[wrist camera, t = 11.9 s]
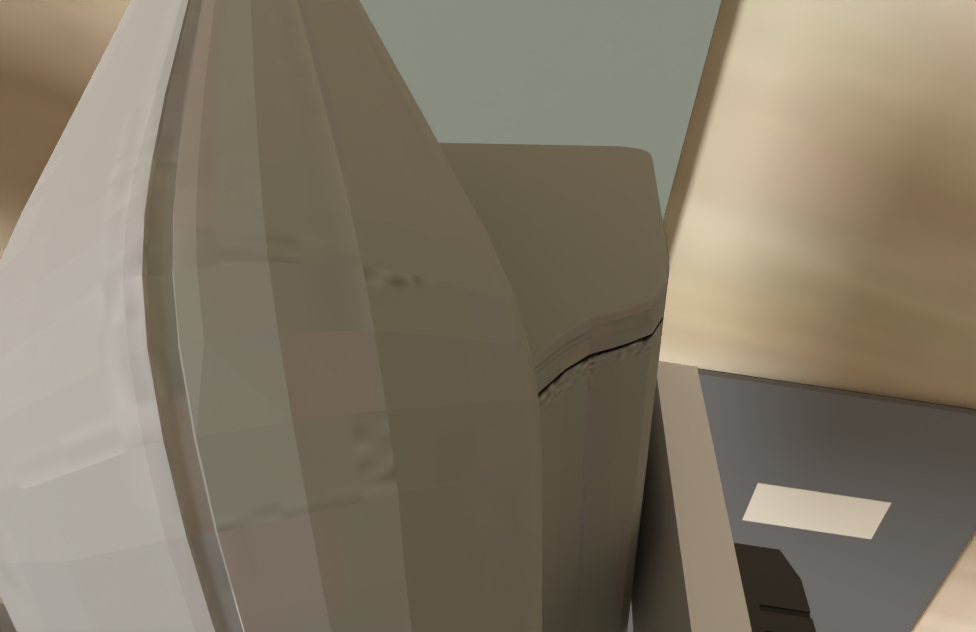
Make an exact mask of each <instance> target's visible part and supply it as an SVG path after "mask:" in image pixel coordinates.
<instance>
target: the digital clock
mask: <svg viewBox="0 0 976 632" xmlns="http://www.w3.org/2000/svg"><path fill="white" fill-rule="evenodd" d="M668 277H669V256H668V250H667V244H666V238H665V232H664V226H663V220H662V213H661V207H660V201H659V195H658V189H657V183H656V177H655V171H654V165H653V159H652V157H651V155H650V153H649V152H647V151H645V150H643V149H638V148H630V147H623V146H583V145H532V144H480V143H438V141H437V139H436V137H435V136H434V134H433V132H432V130H431V128H430V126H429V125H428V123H427V121H426V119H425V117H424V115H423V114H422V112H421V110H420V108H419V106H418V105H417V103H416V101H415V99H414V97H413V96H412V94H411V92H410V90H409V88H408V87H407V85H406V83H405V81H404V80H403V78H402V76H401V74H400V72H399V71H398V69H397V67H396V65H395V63H394V62H393V60H392V58H391V56H390V54H389V53H388V51H387V49H386V47H385V46H384V44H383V42H382V40H381V38H380V37H379V35H378V33H377V31H376V29H375V28H374V26H373V24H372V22H371V20H370V19H369V17H368V15H367V13H366V11H365V10H364V8H363V6H362V4H361V3H360V1H359V0H131V1H130V3H129V5H128V7H127V9H126V11H125V13H124V15H123V17H122V19H121V21H120V23H119V25H118V27H117V29H116V31H115V33H114V34H113V36H112V38H111V40H110V42H109V44H108V46H107V48H106V50H105V52H104V54H103V56H102V58H101V60H100V62H99V64H98V66H97V67H96V69H95V71H94V73H93V75H92V77H91V79H90V81H89V83H88V85H87V87H86V89H85V91H84V93H83V95H82V97H81V99H80V100H79V102H78V104H77V106H76V108H75V110H74V112H73V114H72V116H71V118H70V120H69V122H68V124H67V126H66V128H65V130H64V132H63V133H62V135H61V137H60V139H59V141H58V143H57V145H56V147H55V149H54V151H53V153H52V155H51V157H50V159H49V161H48V163H47V165H46V166H45V168H44V170H43V172H42V174H41V176H40V178H39V180H38V182H37V184H36V186H35V188H34V190H33V192H32V194H31V196H30V198H29V199H28V201H27V203H26V205H25V207H24V209H23V211H22V213H21V215H20V218H19V220H18V222H17V224H16V226H15V229H14V231H13V233H12V235H11V237H10V240H9V242H8V244H7V246H6V249H5V251H4V253H3V255H2V257H1V260H0V596H1V598H2V600H3V603H4V605H5V607H6V609H7V611H8V614H9V616H10V618H11V620H12V622H13V625H14V627H15V629H16V631H17V632H627V630H628V621H629V612H630V604H631V595H632V586H633V578H634V569H635V560H636V552H637V543H638V534H639V526H640V517H641V508H642V500H643V491H644V482H645V474H646V465H647V456H648V448H649V439H650V430H651V422H652V413H653V404H654V396H655V387H656V378H657V370H658V361H659V352H660V344H661V335H662V326H663V317H664V309H665V301H666V293H667V285H668Z"/></svg>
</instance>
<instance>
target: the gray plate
mask: <svg viewBox="0 0 976 632" xmlns="http://www.w3.org/2000/svg"><path fill="white" fill-rule="evenodd" d="M698 374H699V379H700V384H701V388H702V393H703V398H704V403H705V408H706V413H707V417H708V422H709V427H710V432H711V437H712V441H713V446H714V451H715V456H716V461H717V466H718V470H719V475H720V480H721V485H722V490H723V495H724V499H725V504H726V509H727V514H728V519H729V523H730V528H731V533H732V538H733V543H739V544H746V545H752V546H759V547H766V548H772V549H779V550H780V551H781V552H782V553H783V555H784V556H785V558H786V559H787V560H788V562H789V563H790V565H791V566H792V567H793V569H794V570H795V572H796V573H797V574H798V576H799V577H800V579H801V580H802V584H803V587H804V591H805V594H806V598H807V601H808V605H809V608H810V618H812V619H813V623H814V626H815V630H816V632H909V631H910V629H911V628H912V626H913V625H914V623H915V622H916V620H917V619H918V617H919V616H920V614H921V613H922V611H923V610H924V608H925V607H926V605H927V604H928V602H929V601H930V599H931V598H932V596H933V594H934V593H935V591H936V590H937V588H938V587H939V585H940V584H941V582H942V581H943V579H944V578H945V576H946V575H947V573H948V572H949V570H950V569H951V567H952V566H953V564H954V563H955V561H956V560H957V558H958V557H959V555H960V553H961V552H962V550H963V549H964V547H965V546H966V544H967V543H968V541H969V540H970V538H971V537H972V535H973V534H974V532H975V531H976V410H972V409H965V408H959V407H952V406H945V405H938V404H932V403H925V402H918V401H912V400H905V399H898V398H891V397H885V396H878V395H871V394H864V393H858V392H851V391H844V390H837V389H831V388H824V387H817V386H810V385H804V384H797V383H790V382H783V381H777V380H770V379H763V378H756V377H750V376H743V375H736V374H729V373H723V372H716V371H709V370H702V369H698ZM627 632H633V620H632V606H631V604H630V612H629V621H628V630H627Z"/></svg>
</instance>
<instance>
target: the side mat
mask: <svg viewBox="0 0 976 632" xmlns="http://www.w3.org/2000/svg"><path fill="white" fill-rule="evenodd" d="M359 1H360V3H361V4H362V6H363V8H364V10H365V11H366V13H367V15H368V17H369V19H370V20H371V22H372V24H373V26H374V28H375V29H376V31H377V33H378V35H379V37H380V38H381V40H382V42H383V44H384V46H385V47H386V49H387V51H388V53H389V54H390V56H391V58H392V60H393V62H394V63H395V65H396V67H397V69H398V71H399V72H400V74H401V76H402V78H403V80H404V81H405V83H406V85H407V87H408V88H409V90H410V92H411V94H412V96H413V97H414V99H415V101H416V103H417V105H418V106H419V108H420V110H421V112H422V114H423V115H424V117H425V119H426V121H427V123H428V125H429V126H430V128H431V130H432V132H433V134H434V136H435V137H436V139H437V141H438V143H480V144H532V145H583V146H623V147H630V148H638V149H643V150H645V151H647V152H649V153H650V155H651V157H652V159H653V165H654V171H655V177H656V183H657V189H658V195H659V201H660V207H661V213H662V220H663V218H664V215H665V211H666V207H667V203H668V200H669V196H670V192H671V188H672V185H673V181H674V177H675V173H676V170H677V166H678V162H679V158H680V155H681V151H682V147H683V143H684V139H685V136H686V132H687V128H688V124H689V121H690V117H691V113H692V109H693V106H694V102H695V98H696V94H697V91H698V87H699V83H700V79H701V76H702V72H703V68H704V64H705V61H706V57H707V53H708V49H709V46H710V42H711V38H712V34H713V31H714V27H715V23H716V19H717V16H718V12H719V8H720V4H721V1H722V0H359Z"/></svg>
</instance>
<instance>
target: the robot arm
mask: <svg viewBox="0 0 976 632" xmlns="http://www.w3.org/2000/svg"><path fill="white" fill-rule="evenodd" d="M631 606H632V620H633V632H816V630H815V626H814V623H813V619H812V618H810V608H809V605H808V601H807V598H806V594H805V591H804V587H803V584H802V580H801V579H800V577H799V576H798V574H797V573H796V572H795V570H794V569H793V567H792V566H791V565H790V563H789V562H788V560H787V559H786V558H785V556H784V555H783V553H782V552H781V551H780V550H779V549H772V548H766V547H759V546H752V545H746V544H739V543H733V538H732V533H731V528H730V523H729V519H728V514H727V509H726V504H725V499H724V495H723V490H722V485H721V480H720V475H719V470H718V466H717V461H716V456H715V451H714V446H713V441H712V437H711V432H710V427H709V422H708V417H707V413H706V408H705V403H704V398H703V393H702V388H701V384H700V379H699V374H698V369H697V367H695V366H688V365H681V364H675V363H668V362H662V361H658V370H657V378H656V387H655V396H654V404H653V413H652V422H651V430H650V439H649V448H648V456H647V465H646V474H645V482H644V491H643V500H642V508H641V517H640V526H639V534H638V543H637V552H636V560H635V569H634V578H633V586H632V595H631ZM0 632H17V631H16V629H15V627H14V625H13V622H12V620H11V618H10V616H9V614H8V611H7V609H6V607H5V605H4V603H3V600H2V598H1V596H0Z"/></svg>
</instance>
